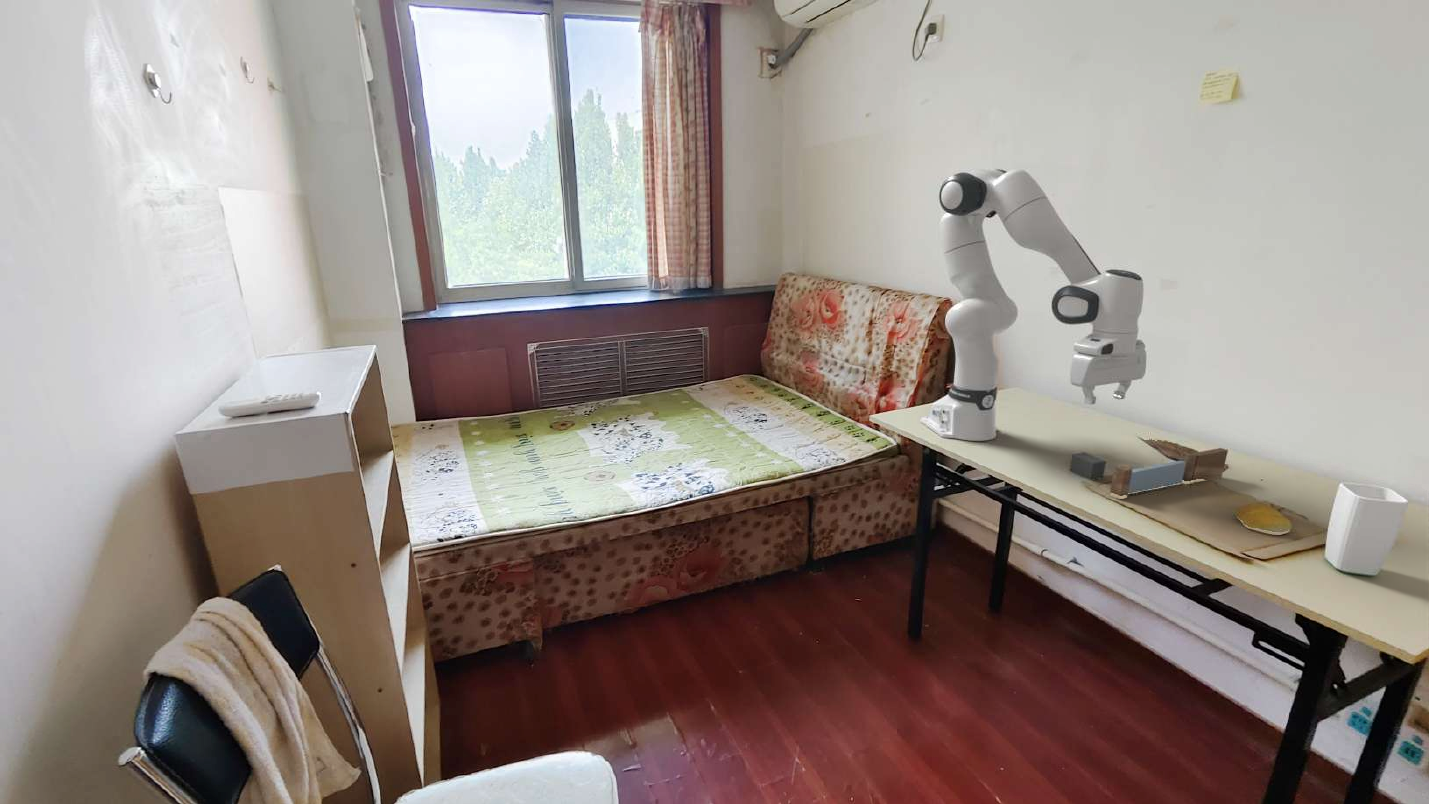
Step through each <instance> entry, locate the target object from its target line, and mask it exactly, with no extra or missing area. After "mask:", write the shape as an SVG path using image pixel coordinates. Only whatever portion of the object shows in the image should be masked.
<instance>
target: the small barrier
mask: <svg viewBox="0 0 1429 804" xmlns="http://www.w3.org/2000/svg"><path fill="white" fill-rule="evenodd" d="M1228 451H1229V450H1228V449H1226V448H1222V447H1219V448H1213V449H1207V450H1203V451H1198V452H1196V453H1191V454H1186V457H1185V461H1184V462H1186V465H1185V470H1184V474H1183V479H1182V480H1184V481H1191V480H1196V479H1204V480H1208V481H1212V480H1217V479H1222V478H1223V473H1224V471H1223V469H1224V465H1225V464H1226V460H1227V457H1228ZM1132 470H1133V468H1131V467H1129V466H1127V465H1123V464H1121V465H1117V466H1116V465H1115V466H1114V469H1113V474H1112V479H1111V485H1110V490H1109V493H1110V492H1111V493H1114V494H1117V495H1119V496H1123V495H1128V491H1129V486H1130V480H1131V475H1132ZM1210 479H1211V480H1210ZM1128 496H1129V495H1128Z"/></svg>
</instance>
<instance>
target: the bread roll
mask: <svg viewBox="0 0 1429 804" xmlns="http://www.w3.org/2000/svg"><path fill="white" fill-rule="evenodd" d="M1235 516H1237V517H1238V518H1239V519H1240V520H1242V521H1243V523H1244V524H1245V525H1247V526H1248V527H1251V528H1259V529H1262V530H1267V531H1272V532H1284V531H1288V530H1290V529H1291V530H1292V523H1291V521H1290V520H1289V519H1288V518H1286V517H1285V516H1283V514H1282V513H1280V511H1278V510H1276V509H1275V508H1273V506H1272V507H1271V506H1268V505H1265V504H1261V503H1251V504H1246V505H1244V506H1241V507H1239V508H1238V509H1237V510H1236V511H1235ZM1237 517H1236V518H1237ZM1291 530H1290V531H1291Z"/></svg>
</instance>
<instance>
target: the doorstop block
mask: <svg viewBox="0 0 1429 804" xmlns="http://www.w3.org/2000/svg"><path fill="white" fill-rule="evenodd" d="M1106 465H1107V460H1106V459H1103V458H1100V457H1098V456H1095V455H1093V454H1091V453H1087V452H1085V451H1084V452H1079V453H1073V454H1071V458H1070V465H1069V469H1068V470H1069V472H1070V473H1073V474H1075V475H1077V476H1080V477H1082V478H1084V479H1086V480H1088V481H1093V480H1092V479H1095V480H1099V479H1098V478H1100V479H1103V478H1104V474H1105V471H1106V470H1105V469H1106Z"/></svg>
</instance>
